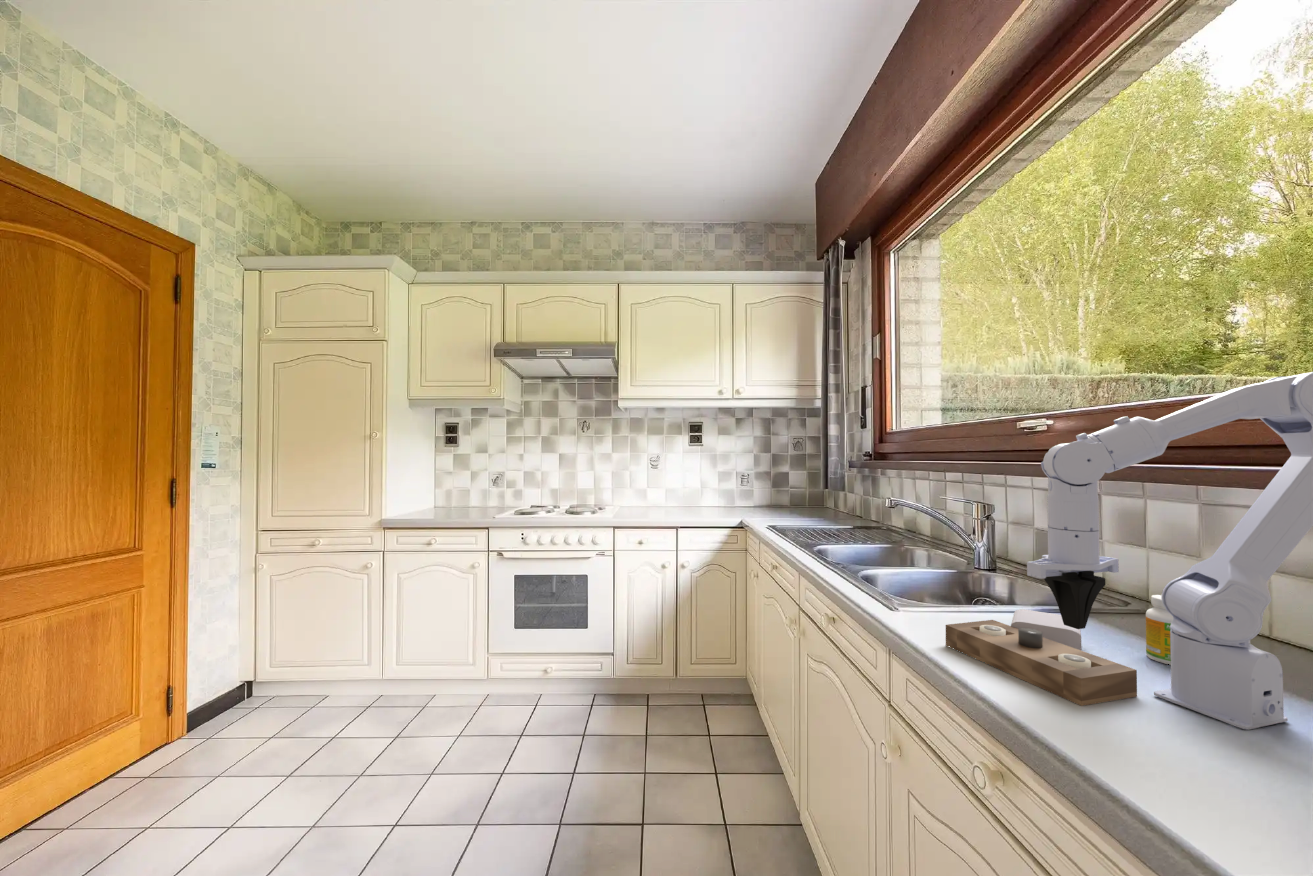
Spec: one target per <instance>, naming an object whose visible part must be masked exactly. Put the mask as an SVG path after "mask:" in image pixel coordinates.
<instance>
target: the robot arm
mask: <svg viewBox="0 0 1313 876" xmlns="http://www.w3.org/2000/svg"><path fill="white" fill-rule="evenodd" d="M1240 419H1242V420H1255V419H1256V420H1258V419H1260V420H1261V421H1262V422H1263V423H1264V424H1265V425H1266V426H1268V427H1269V428H1270V429H1271V430H1272V431H1273V432H1275V434H1277V435H1278V436H1279V437H1280V438H1281V439H1282V440H1283V442H1284V444H1285V445H1286V447H1287V449H1288V450H1289V452H1290V457H1289V458H1287V460H1286V462H1285V463H1284V464H1283V466H1282V467H1281V468H1280V469H1279V470H1278V471H1277V472H1276V475H1275V476H1274V477H1273V478H1272V479H1271V481H1270V482H1269V483H1268V484H1267V486H1266V487H1265V488H1264V490H1263V491H1262V492H1261V494H1260V495H1259V496H1258V497H1257V499H1256V500H1255V501H1254V503H1252V505H1251V506H1250V507H1249V509H1248V510H1247V511H1246V512H1245V514H1244V515H1243V516H1242V517H1241V518H1240V520H1239V521H1238V522H1237V524H1236V525H1235V526H1234V528H1233V529H1232V530H1231V531H1230V533H1229V534H1228V535H1227V537H1225V539H1224V540H1223V542H1221V544H1220V545H1219V547H1218V548H1217V549H1216V551H1215V552H1214V553H1213V554H1212V555H1211V556H1210V557H1207V558H1206V559H1203V560H1201V561H1199V562H1197V563H1195V564H1193V565H1191V567H1190V568H1189V570H1187V571H1186V572H1185V573H1184V574H1183V575H1180V576H1179V577H1176V578H1174V579H1171V580H1170V581H1169V582H1168V583H1166V584H1165V586H1164V587H1163V589H1162V592H1161V595H1162V597H1161V599H1162V603H1163V605H1164V607H1165V609H1166V610H1167V611H1168V612H1169V613H1170V614H1171V615H1172V616H1173V622H1172V623H1171V625H1170V629H1171V630H1170V640H1171V665H1170V681H1171V682H1170V686H1171V687H1170V688H1167V689H1161V690H1155V691H1153V695H1154V696H1155V697H1157V698H1160V699H1162V700H1165V701H1168V702H1170V703H1173V704H1176V705H1179V706H1181V707H1184V708H1187V709H1188V710H1192V711H1195V712H1197V713H1200V714H1202V715H1205V716H1207V717H1210V718H1213V719H1215V720H1219V721H1221V722H1224V723H1226V724H1229V725H1232V726H1235V727H1237V728H1240V729H1243V730H1252V729H1257V728H1262V727H1266V726H1271V725H1275V724H1281V723H1285V722H1288V721H1289V719H1288V717H1287V716H1286V715H1284V714H1285V713H1284V712H1285V711H1284V675H1283V674H1284V671H1283V667H1282V664H1281V661H1280V659H1279V658H1278V657H1277V656H1276V655H1275V654H1273V653H1271V652H1269V651H1265V650H1263V649H1259V648H1257V647H1256V646H1254V645H1253V644H1251V640H1253V639H1254V638H1255V637H1257V636H1258V635H1259V633H1260V632H1261V630H1262V627H1263V622H1264V621H1263V618H1264V613H1265V611H1266V609H1267V607H1268V606H1269V605H1270V603H1271V602H1272V596H1271V593H1270V589H1269V585H1268V581H1269V580H1270V579H1271V578H1272V576H1273V575H1274V574H1275V573H1276V571H1277V570H1278V569H1279V568H1280V567H1281V565H1282V564H1283V563H1284V562H1285V560H1287V558H1288V557H1289V556H1290V554H1291V553H1292V552H1293V551H1294V549H1296V547H1297V546H1298V545H1299V544H1300V542H1301V541H1302V540H1303V539H1304V538H1305V536H1306V535H1307V533H1309V531H1310V530H1311V529H1312V528H1313V371H1311V372H1306V373H1305V372H1304V373H1299V374H1294V375H1288V376H1285V375H1284V376H1276V377H1272V378H1269V379H1267V380H1264V381H1263V382H1257V383H1251V384H1247V385H1244V386H1243V385H1242V386H1240V387H1235V388H1232V389H1229V390H1227V391H1224V392H1222V393H1219V394H1216V395H1214V396H1212V397H1209V398H1207V399H1204V400H1203V401H1200V402H1196V403H1194V404H1192V405H1190V406H1189V405H1188V406H1186V407H1184V408H1183V409H1179V410H1176V411H1174V412H1171V413H1170V414H1167V415H1164V416H1162V417H1160V418H1157V419H1155V420H1153V419H1149V418H1147V417H1146V418H1145V417H1143V416H1134V417H1132V418H1130V417H1128V415H1127V416H1122V417H1119V418H1117V419H1116V418H1115V419H1114V420H1113V423H1114V424H1113V425H1111V426H1108V427H1105V428H1102V429H1100V430H1097V431H1095V432H1092V433H1089V434H1087V433H1086V432H1083V433H1079V434H1077V435H1075V438H1076V441H1071V442H1066V443H1059V444H1056V445H1054V446H1052V447H1051V448H1049V450H1048V451H1047V452H1046V453H1045V454H1044V457H1043V460H1042V461H1041V462H1040V468H1041V470H1042V472H1043V473H1044V475H1046V477H1047V489H1048V490H1047V496H1046V499H1047V500H1046V501H1047V503H1046V504H1047V507H1046V509H1047V554H1042V555H1041V558H1039V559H1036V560H1033V561H1032V560H1031V561H1030V560H1029V561H1027V562H1026V573H1027V574H1026V575H1027V577H1031V578H1036V579H1040V580H1041V579H1042V580H1044V581H1045V583H1046V584H1047V586H1048V587H1049V589H1050V591H1051V592H1052V595H1053V597H1054V599H1055V601H1056V603H1057V607H1058V610H1059V613H1060V614H1059V615H1061V617H1062V620H1063V623H1064V625H1066V626H1069V627H1072V628H1076V629H1080V630H1082V629H1083V630H1084V629H1086V626H1087V623H1088V620H1089V617H1090V614H1091V611H1092V608H1093V605H1094V603H1095V601H1096V599H1097V597H1098V595H1099V593H1100V592H1101V591H1102V589H1103V588H1104V587H1105V586H1106V578H1105V577H1103V576H1099V575H1095V574H1096V573H1107V572H1109V573H1113V574H1114V573H1119V572H1120V571H1119V558H1117V557H1111V556H1110V557H1109V556H1105V555H1102V556H1101V555H1100V547H1101V546H1100V501H1099V500H1100V498H1099V489H1098V488H1099V485H1098V483H1099V480H1102V477H1104V475H1105V473H1106V474H1110V473H1113V472H1116V471H1119V470H1122V469H1125V468H1127V467H1131V466H1134V465H1136V464H1139V463H1142V462H1145V461H1148V460H1151V459H1153V458H1156V457H1159V456H1162V455H1163V454H1164V453H1165V451H1166V449H1167V447H1168V445H1169V443H1171V441H1174V440H1178V439H1180V438H1183V437H1187V436H1190V435H1193V434H1196V433H1200V432H1203V431H1205V430H1209V429H1211V428H1215V427H1218V426H1221V425H1223V424H1224V425H1225V424H1226V423H1227V424H1228V423H1230V422H1233V421H1236V420H1240Z"/></svg>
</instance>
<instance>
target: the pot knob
mask: <svg viewBox="0 0 1313 876" xmlns="http://www.w3.org/2000/svg"><path fill="white" fill-rule="evenodd" d="M1018 643H1019V644H1020V645H1022V646H1025V647H1029V648H1042V647H1043V635H1042V632H1040V631H1038V630H1034V629H1028V628H1020V629H1018Z"/></svg>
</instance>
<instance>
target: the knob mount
mask: <svg viewBox="0 0 1313 876" xmlns="http://www.w3.org/2000/svg"><path fill="white" fill-rule="evenodd" d="M981 625H993V626H998V627H1001V628H1003V629H1005V630H1006V635H1003V636H995V637H994V636H991V635H988V634H986V633H983V632H980V626H981ZM946 645H947V646H950V647H951V648H950V647H949V648H950V649H952V648H954V649H955V650H954V649H953V650H954V651H956V650H958V651H957V652H959V651H960V652H959V653H961V652H963V653H964V654H963V653H962V654H963V655H965V654H967V655H966V656H967V657H970V656H971V657H970V658H972V657H973V659H974V658H976V659H975V660H977V661H979V660H980V661H979V662H981V661H982V662H981V663H983V662H985V663H984V664H985V665H988V664H989V665H988V666H991V667H992V666H993V668H995V669H997V668H998V669H997V670H999V669H1000V671H1001V670H1002V672H1004V673H1006V674H1008V673H1009V674H1008V675H1011V676H1013V677H1015V678H1016V679H1017V678H1018V679H1020V680H1022V681H1024V682H1027V683H1029V684H1031V685H1033V686H1036V687H1038V688H1040V689H1043V690H1044V691H1047V692H1049V693H1052V694H1054V695H1056V696H1058V697H1060V698H1063V699H1065V700H1067V701H1069V702H1072V703H1074V704H1076V705H1078V706H1081V707H1085V706H1089V705H1095V704H1101V703H1107V702H1112V701H1119V700H1125V699H1130V698H1135V697H1138V674H1137V673H1138V672H1137V671H1138V670H1137V669H1135V668H1132V667H1130V666H1127V665H1124V664H1121V663H1118V662H1115V661H1113V660H1109V659H1107V658H1103V657H1101V656H1097V655H1095V654H1092V653H1089V652H1086V651H1083V650H1082V649H1081V650H1078V649H1075V648H1072V647H1069V646H1066V645H1064V644H1061V643H1058V642H1055V641H1052V640H1049V639H1046V638H1044V637H1043V647H1042V648H1029V647H1025V646H1022V645H1020V644H1019V643H1018V628H1015V627H1012V626H1011V625H1009V624H1006V623H1003V622H1000V621H997V620H994V619H987V620H977V621H970V622H969V621H968V622H959V623H951V624H950V623H948V624H945V646H946ZM947 646H946V647H947ZM1059 654H1073V655H1078V656H1082V657H1085V658H1087V659H1089V660H1090V661H1091V667H1090V668H1083V669H1077V668H1075V667H1072V666H1070V665H1067V664H1064V663H1062V662H1059V661H1058V655H1059Z"/></svg>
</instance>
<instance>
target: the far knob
mask: <svg viewBox="0 0 1313 876" xmlns="http://www.w3.org/2000/svg"><path fill="white" fill-rule="evenodd" d="M980 632H983V633H986V634H988V635H991V636H994V637H995V636H1003V635H1006V630H1005V629H1003V628H1001V627H998V626H993V625H981V626H980Z"/></svg>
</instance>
